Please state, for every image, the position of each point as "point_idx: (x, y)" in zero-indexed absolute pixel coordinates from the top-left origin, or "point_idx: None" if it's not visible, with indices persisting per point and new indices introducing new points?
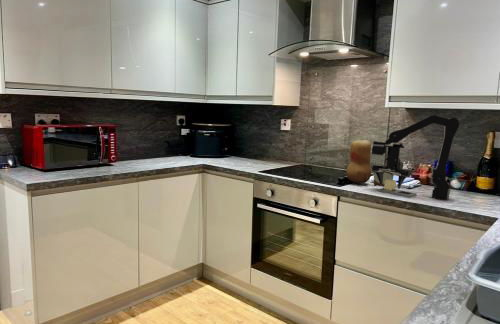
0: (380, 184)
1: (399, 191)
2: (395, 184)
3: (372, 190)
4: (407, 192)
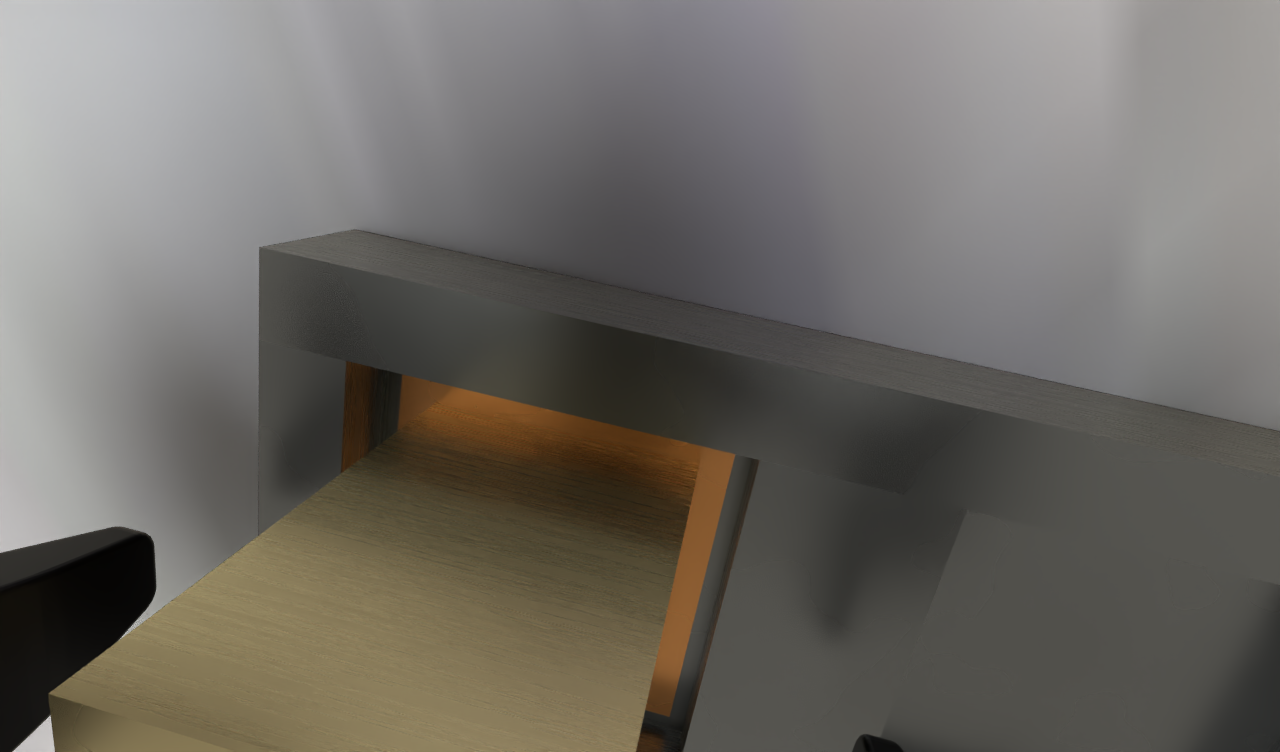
0: (103, 627)
1: (883, 667)
2: (648, 692)
3: (81, 380)
4: (1194, 559)
